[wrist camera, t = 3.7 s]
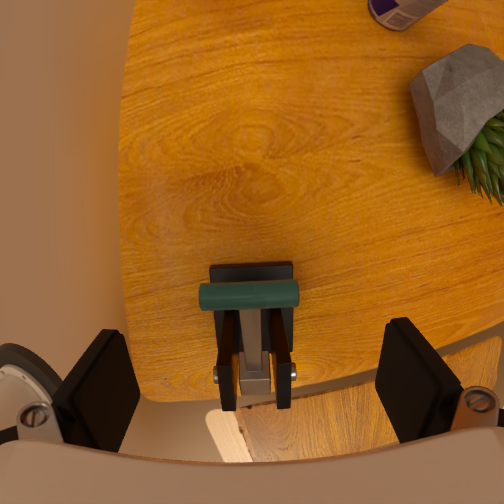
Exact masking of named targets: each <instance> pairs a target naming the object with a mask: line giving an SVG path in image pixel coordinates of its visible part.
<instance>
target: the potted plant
mask: <svg viewBox="0 0 504 504" xmlns="http://www.w3.org/2000/svg"><path fill="white" fill-rule="evenodd" d="M409 88H410V92H411V95H412V99H413V102H414V106H415V110H416V114H417V118H418V122H419V127H420V133H421V140H422V145H423V147H424V150H425V152H426V155H427V157H428V160H429V163H430V165H431V168H432V171H433V173H434V176H435V177H437V176H440V175H443V174H446V173H449V172H452V171H454V170H455V172H456V176H457V181H458V185H459V175H458V169H460V171H461V173H462V176H463V181H464V178H465V175H464V171H465V173H466V175H467V177H468V180H469V183H470V187H471V191H472V193H473V191H474V193H475V194H476V192H475V190H476V188H477V191H478V194H479V192H480V194H481V196H482V192H481V186H482V188H483V189H484V191H485V193H486V195H487V197H488V198H489V200H490V202H491V204H492V201H491V197H490V193H491V195H492V196H494V197H495V199H496V200H497V201H498V203H499V204H500V206H502V203H501V201H502V202H503V203H504V197H503V196H504V61H503V60H501V59H500V58H499V57H498V56H497V55H496V54H495V53H493V52H492V51H491V50H490V49H489V48H485V47H481V46H477V45H472V44H467V45H465V46H463V47H461V48H459V49H458V50H456V51H454V52H452V53H450V54H449V55H447V56H445V57H443V58H442V59H440V60H438V61H437V62H435V63H433V64H431V65H430V66H428V67H426V68H425V69H423V70H422V71H421V72H420V73H419V74H418V75H417V76H416V77H415V79H414V80H413V81H412V82H411V83H410V84H409ZM480 194H479V196H480ZM502 194H503V195H502ZM482 198H483V196H482Z"/></svg>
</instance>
